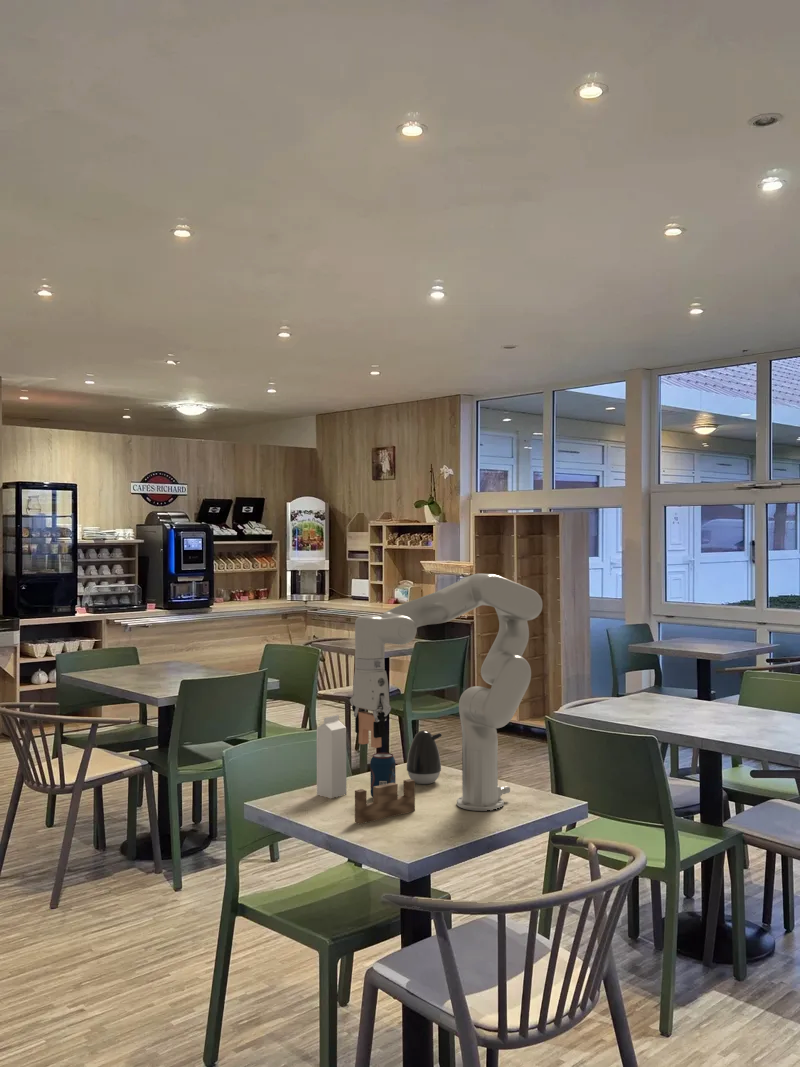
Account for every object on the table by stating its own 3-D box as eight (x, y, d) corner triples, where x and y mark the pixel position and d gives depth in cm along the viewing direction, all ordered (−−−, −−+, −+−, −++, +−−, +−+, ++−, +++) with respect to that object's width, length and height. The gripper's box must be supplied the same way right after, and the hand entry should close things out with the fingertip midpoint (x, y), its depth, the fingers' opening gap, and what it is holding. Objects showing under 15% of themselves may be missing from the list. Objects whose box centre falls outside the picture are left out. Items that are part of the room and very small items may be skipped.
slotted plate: (364, 742, 235) (364, 711, 235) (381, 746, 230) (381, 715, 230) (358, 743, 234) (358, 712, 234) (375, 748, 229) (374, 716, 229)
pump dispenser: (443, 786, 264) (442, 733, 264) (407, 786, 264) (406, 734, 264) (440, 777, 274) (440, 727, 275) (406, 777, 274) (406, 727, 274)
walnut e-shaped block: (410, 809, 241) (409, 778, 241) (414, 810, 240) (414, 780, 240) (354, 822, 230) (354, 790, 230) (359, 824, 228) (359, 792, 229)
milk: (346, 794, 256) (347, 716, 257) (331, 799, 252) (332, 719, 252) (330, 790, 260) (331, 713, 260) (315, 795, 255) (316, 716, 256)
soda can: (370, 795, 256) (370, 752, 256) (395, 794, 256) (395, 751, 256) (370, 801, 249) (370, 757, 249) (395, 801, 249) (395, 757, 249)
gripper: (402, 666, 228) (402, 738, 228) (361, 660, 241) (361, 727, 241) (378, 669, 223) (379, 742, 223) (338, 662, 237) (338, 731, 236)
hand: (369, 734), depth 232 cm, fingers closed on slotted plate, 7 cm apart
